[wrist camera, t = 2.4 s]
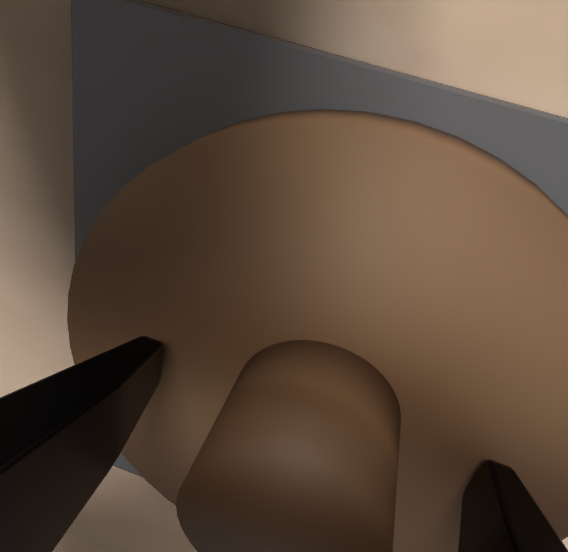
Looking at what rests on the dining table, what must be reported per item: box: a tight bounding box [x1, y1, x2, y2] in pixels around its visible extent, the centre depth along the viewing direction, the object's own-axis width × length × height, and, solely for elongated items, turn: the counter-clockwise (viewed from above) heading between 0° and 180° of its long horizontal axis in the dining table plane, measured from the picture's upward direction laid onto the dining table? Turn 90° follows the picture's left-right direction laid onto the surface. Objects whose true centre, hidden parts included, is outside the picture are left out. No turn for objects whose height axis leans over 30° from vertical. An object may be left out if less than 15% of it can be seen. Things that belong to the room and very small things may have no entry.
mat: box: [71, 0, 568, 478], centre depth 10 cm, size 11×11×1 cm
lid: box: [67, 109, 568, 552], centre depth 8 cm, size 10×10×4 cm
